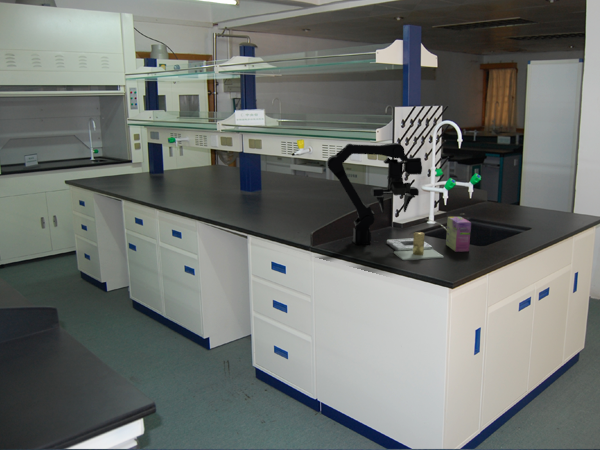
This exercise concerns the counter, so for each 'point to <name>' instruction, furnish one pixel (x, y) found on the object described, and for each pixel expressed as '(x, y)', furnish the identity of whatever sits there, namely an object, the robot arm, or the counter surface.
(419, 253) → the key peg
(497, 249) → the counter surface
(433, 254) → the mat
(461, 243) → the box
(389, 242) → the white marble square slab
